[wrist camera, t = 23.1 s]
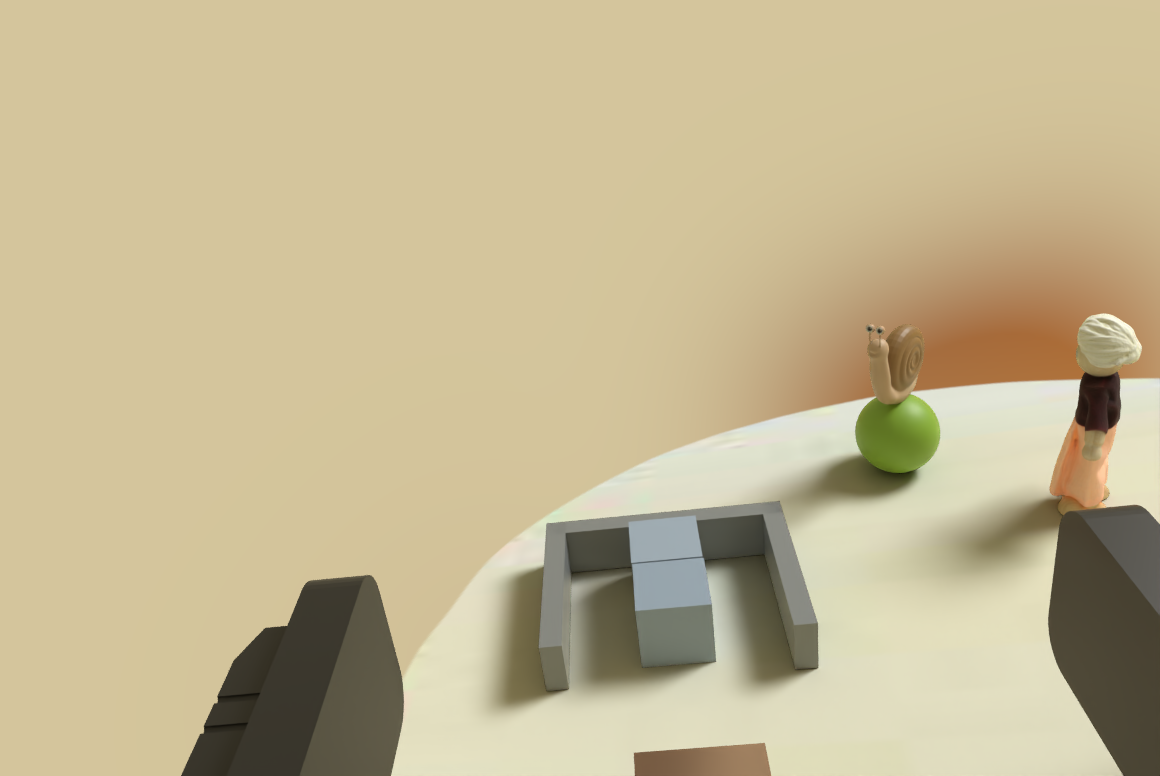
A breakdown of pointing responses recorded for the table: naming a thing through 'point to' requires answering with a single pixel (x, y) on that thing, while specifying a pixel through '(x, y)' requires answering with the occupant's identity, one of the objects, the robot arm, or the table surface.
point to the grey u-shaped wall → (719, 538)
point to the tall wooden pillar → (705, 761)
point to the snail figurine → (896, 405)
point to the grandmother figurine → (1094, 413)
